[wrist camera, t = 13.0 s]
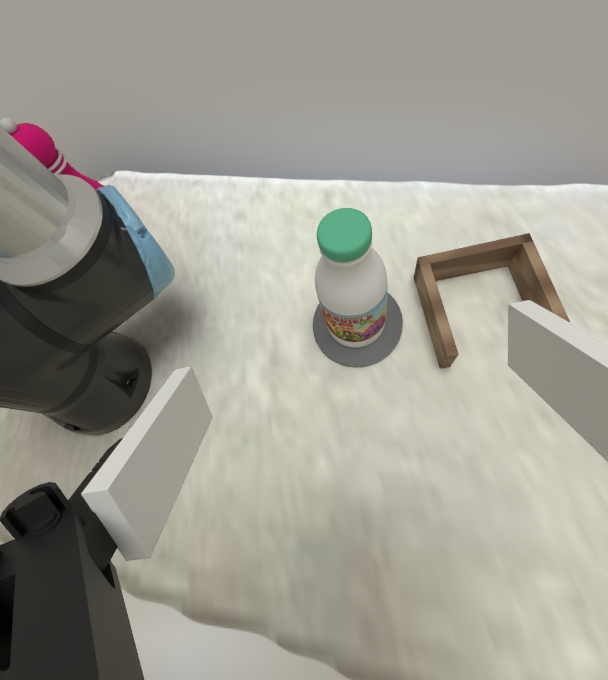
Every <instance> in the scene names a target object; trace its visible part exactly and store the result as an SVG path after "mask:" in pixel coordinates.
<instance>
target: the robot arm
mask: <svg viewBox="0 0 608 680" xmlns="http://www.w3.org/2000/svg"><path fill="white" fill-rule="evenodd" d="M174 275H175V271H174V267H173V265H172V264H171V262H170V260H169V259H168V257H167V256H166V254H165V253H164V252H163V250H162V249H161V247H160V246H159V245H158V243H157V242H156V240H155V239H154V238H153V236H152V235H151V234H150V233H149V232H148V230H147V229H146V227H145V226H144V224H143V223H142V222H141V220H140V219H139V217H138V216H137V215H136V213H135V212H134V211H133V209H132V208H131V207H130V206H129V204H128V203H127V202H126V200H125V199H124V198H123V197H122V195H121V194H120V193H119V192H118V191H117V189H116V188H115V187H113V186H111V185H107V186H105V187H99V188H98V189H97V190H95V189H94V188H93V187H92V186H91V185H90V184H88V183H87V182H86V181H84V180H83V179H81V178H79V177H76V176H72V175H62V174H59V175H54V174H53V173H52V172H51V171H50V170H49V169H47V168H46V167H45V166H44V165H43V164H42V163H41V162H40V161H38V160H37V159H36V158H35V157H34V156H33V155H32V154H31V153H30V152H28V151H27V150H26V149H25V148H24V147H23V146H22V145H21V144H20V143H18V142H17V141H16V140H15V139H14V138H13V137H12V136H11V135H10V134H8V133H7V132H6V131H5V130H4V129H3V128H2V127H1V126H0V407H3V408H9V409H16V410H23V411H30V412H36V413H42V414H43V415H45V416H46V417H48V418H50V419H51V420H53V421H54V422H56V423H57V424H59V425H61V426H62V427H64V428H66V429H68V430H70V431H73V432H76V433H82V434H90V435H98V434H104V433H107V432H110V431H113V430H115V429H117V428H119V427H120V426H122V425H123V424H124V423H126V422H127V421H128V420H129V419H130V418H131V417H132V416H133V415H134V414H135V413H136V412H137V410H138V409H139V408H140V406H141V405H142V403H143V401H144V399H145V397H146V395H147V392H148V389H149V386H150V381H151V364H150V360H149V357H148V354H147V353H146V351H145V349H144V348H143V347H142V346H141V345H140V344H139V343H138V342H136V341H135V340H133V339H131V338H129V337H127V336H126V335H123V334H120V333H117V332H112V331H113V330H114V329H116V328H117V327H118V326H119V325H121V324H122V323H123V322H125V321H126V320H127V319H129V318H130V317H131V316H133V315H134V314H135V313H136V312H138V311H139V310H140V309H142V308H143V307H144V306H146V305H147V304H148V303H149V302H151V301H152V300H154V299H156V298H157V296H158V294H159V293H160V292H161V291H162V290H163V289H165V288H166V287H167V286H168V285H169V284H170V283H171V282H172V281H173V279H174ZM508 366H509V367H510V368H511V369H512V370H513V371H514V372H515V373H516V374H517V375H518V376H519V377H520V378H522V379H523V380H524V381H525V382H526V383H527V384H528V385H529V386H530V387H531V388H532V389H533V390H534V391H535V392H536V393H537V394H538V395H539V396H540V397H541V398H542V399H543V400H544V401H545V402H546V403H547V404H548V405H549V406H551V407H552V408H553V409H554V410H555V411H556V412H557V413H558V414H559V415H560V416H561V417H562V418H563V419H564V420H565V421H566V422H567V423H568V424H569V425H570V426H571V427H572V428H573V429H574V430H575V431H576V432H577V433H578V434H580V435H581V436H582V437H583V438H584V439H585V440H586V441H587V442H588V443H589V444H590V445H591V446H592V447H593V448H594V449H595V450H596V451H597V452H598V453H599V454H600V455H601V456H602V457H603V458H604V459H605V460H606V461H607V462H608V344H607V343H606V342H604V341H602V340H600V339H598V338H597V337H595V336H593V335H591V334H589V333H588V332H586V331H584V330H582V329H580V328H579V327H577V326H575V325H573V324H572V323H570V322H568V321H566V320H564V319H563V318H561V317H559V316H557V315H555V314H554V313H552V312H550V311H548V310H546V309H545V308H543V307H541V306H539V305H538V304H536V303H534V302H532V301H530V300H527V301H521V302H516V303H511V304H508ZM211 420H212V414H211V412H210V410H209V407H208V405H207V402H206V400H205V398H204V395H203V393H202V390H201V388H200V385H199V383H198V381H197V378H196V376H195V373H194V371H193V369H192V366H190V367H185V368H180V369H175V370H174V372H173V373H172V374H171V376H170V377H169V378H168V380H167V381H166V382H165V384H164V385H163V386H162V388H161V389H160V390H159V391H158V393H157V394H156V395H155V397H154V398H153V399H152V401H151V402H150V403H149V405H148V406H147V407H146V409H145V410H144V411H143V413H142V414H141V415H140V417H139V418H138V419H137V421H136V422H135V423H134V425H133V426H132V427H131V428H130V430H129V431H128V432H127V434H126V435H125V436H124V438H121V439H120V440H118V441H117V442H116V443H115V444H114V445H112V446H111V447H110V448H109V449H108V450H107V451H106V452H105V454H104V455H103V456H102V458H101V459H100V460H99V463H97V464H96V465H95V467H94V468H93V469H92V472H90V473H89V474H88V476H87V477H86V478H85V479H84V481H83V482H82V483H81V484H80V486H79V487H78V488H77V490H76V491H75V492H74V493H73V495H72V496H71V497H70V499H69V500H67V499H66V497H65V496H64V494H63V493H62V491H61V490H60V489H59V487H58V486H57V484H56V483H51V482H49V483H44V484H40V485H38V486H36V487H34V488H32V489H30V490H28V491H26V492H25V493H23V494H22V495H20V496H19V497H17V498H16V499H15V500H14V501H13V502H11V503H10V504H9V505H8V506H7V508H6V509H5V510H4V511H3V512H2V514H1V516H0V522H1V523H2V524H3V525H4V526H5V528H6V529H7V530H8V531H9V532H10V533H11V535H12V536H13V537H14V538H15V539H14V540H12V541H9V542H7V543H4V544H2V545H0V680H144V676H143V673H142V669H141V665H140V661H139V658H138V653H137V649H136V645H135V642H134V638H133V634H132V630H131V626H130V622H129V618H128V614H127V611H126V607H125V603H124V599H123V595H122V591H121V587H120V583H119V579H118V576H117V572H116V568H115V567H114V565H113V564H112V562H111V561H110V560H111V558H112V556H113V554H114V553H115V551H116V549H117V548H118V549H119V551H120V552H121V554H122V555H123V557H124V558H125V560H126V561H128V560H136V559H145V558H150V557H151V555H152V552H153V550H154V548H155V546H156V543H157V541H158V539H159V537H160V534H161V532H162V530H163V528H164V525H165V523H166V521H167V519H168V516H169V514H170V512H171V510H172V507H173V505H174V503H175V501H176V498H177V496H178V494H179V492H180V489H181V487H182V485H183V483H184V480H185V478H186V476H187V474H188V471H189V469H190V467H191V465H192V462H193V460H194V458H195V456H196V453H197V451H198V449H199V447H200V444H201V442H202V440H203V438H204V435H205V433H206V431H207V429H208V426H209V424H210V422H211Z"/></svg>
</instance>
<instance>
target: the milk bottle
mask: <svg viewBox="0 0 608 680" xmlns="http://www.w3.org/2000/svg"><path fill="white" fill-rule="evenodd" d="M317 241H318V245H319V248H320V252H321V254H322V257H321V259H320V261H319V263H318V265H317V269H316V274H315V287H316V292H317V296H318V300H319V303H320V306H321V309H322V312H323V315H324V318H325V321H326V324H327V327H328V329H329V331H330V333H331V335H332V337H333V338H334V339H335V340H336V341H337V342H339V343H340V344H342V345H344V346H347V347H352V348H360V347H364V346H367V345H370V344H371V343H373V342H374V341H376V340H377V339H378V338H379V337H380V335H381V334H382V332H383V330H384V327H385V321H386V307H387V274H386V269H385V266H384V263H383V261H382V259H381V258H380V256H379V255H378V253H377V252H376V251H375V250H374V249H373V248H372V228H371V223H370V221H369V219H368V218H367V216H366V215H365V214H364V213H362V212H361V211H359V210H356V209H352V208H342V209H337V210H334V211H332V212H330V213H329V214H327V215H326V216H325V217H324V218H323V219H322V220H321V222H320V224H319V226H318V229H317Z"/></svg>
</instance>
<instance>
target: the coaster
mask: <svg viewBox="0 0 608 680" xmlns="http://www.w3.org/2000/svg"><path fill="white" fill-rule="evenodd" d="M313 331H314V336H315V339H316V341H317V343H318V345H319V347H320V349H321V350H322V351H323V352H324V353H325V354H326V355H327V356H328V357H329V358H330V359H332V360H333V361H335V362H337V363H339V364H342V365H345V366H351V367H363V366H368V365H372V364H375V363H377V362H379V361H381V360H383V359H384V358H385V357H387V356H388V355H389V354H390V353H391V352H392V351H393V350H394V348H395V347H396V345H397V343H398V341H399V339H400V336H401V332H402V314H401V311H400V308H399V306H398V304H397V303H396V301H395V300H394V298H393V297H392V296H391V295H390V294H388V293H387V307H386V321H385V327H384V330H383V332H382V334H381V335H380V337H379V338H378V339H377V340H376V341H374V342H373V343H371V344H370V345H367V346H364V347H360V348H352V347H347V346H344V345H342V344H340V343H339V342H337V341H336V340H335V339H334V338H333V337H332V335H331V333H330V331H329V329H328V327H327V324H326V321H325V318H324V315H323V312H322V309H321V306H320V304H319V305H318V307H317V309H316V312H315V315H314V319H313Z"/></svg>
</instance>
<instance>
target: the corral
mask: <svg viewBox="0 0 608 680" xmlns="http://www.w3.org/2000/svg"><path fill="white" fill-rule="evenodd" d="M505 266H508V267H509V269H510V272H511V274H512V276H513V279H514V281H515V284H516V286H517V288H518V291H519V293H520V296H521V298H522V301H527V300H530V301H532V302H534V303H536V304H538V305H539V306H541V307H543V308H545V309H546V310H548V311H550V312H552V313H554V314H555V315H557V316H559V317H561V318H563V319H564V320H566V321H568V322H570V321H569V319H568V316H567V314H566V312H565V310H564V308H563V306H562V303H561V301H560V299H559V297H558V295H557V292H556V290H555V288H554V286H553V284H552V282H551V279H550V277H549V275H548V273H547V271H546V268H545V266H544V264H543V262H542V260H541V258H540V255H539V253H538V251H537V249H536V247H535V244H534V242H533V240H532V238H531V236H530V234H529V233H528V234H524V235H519V236H515V237H510V238H505V239H501V240H496V241H492V242H487V243H482V244H478V245H473V246H469V247H464V248H460V249H455V250H450V251H446V252H441V253H437V254H432V255H427V256H423V257H418V259H417V264H416V269H415V274H414V280H415V283H416V287H417V290H418V294H419V297H420V301H421V304H422V307H423V311H424V314H425V318H426V321H427V325H428V328H429V332H430V335H431V339H432V342H433V346H434V349H435V352H436V356H437V359H438V363H439V366H440V368H445V367H450V366H451V364H452V363H453V361H454V360H455V359H456V357H457V356H458V355H459V354H458V351H457V348H456V345H455V342H454V339H453V335H452V332H451V329H450V326H449V323H448V319H447V316H446V313H445V310H444V307H443V304H442V300H441V297H440V294H439V291H438V288H437V284H436V281H437V280H442V279H447V278H452V277H457V276H461V275H466V274H471V273H476V272H481V271H485V270H490V269H495V268H500V267H505Z"/></svg>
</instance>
